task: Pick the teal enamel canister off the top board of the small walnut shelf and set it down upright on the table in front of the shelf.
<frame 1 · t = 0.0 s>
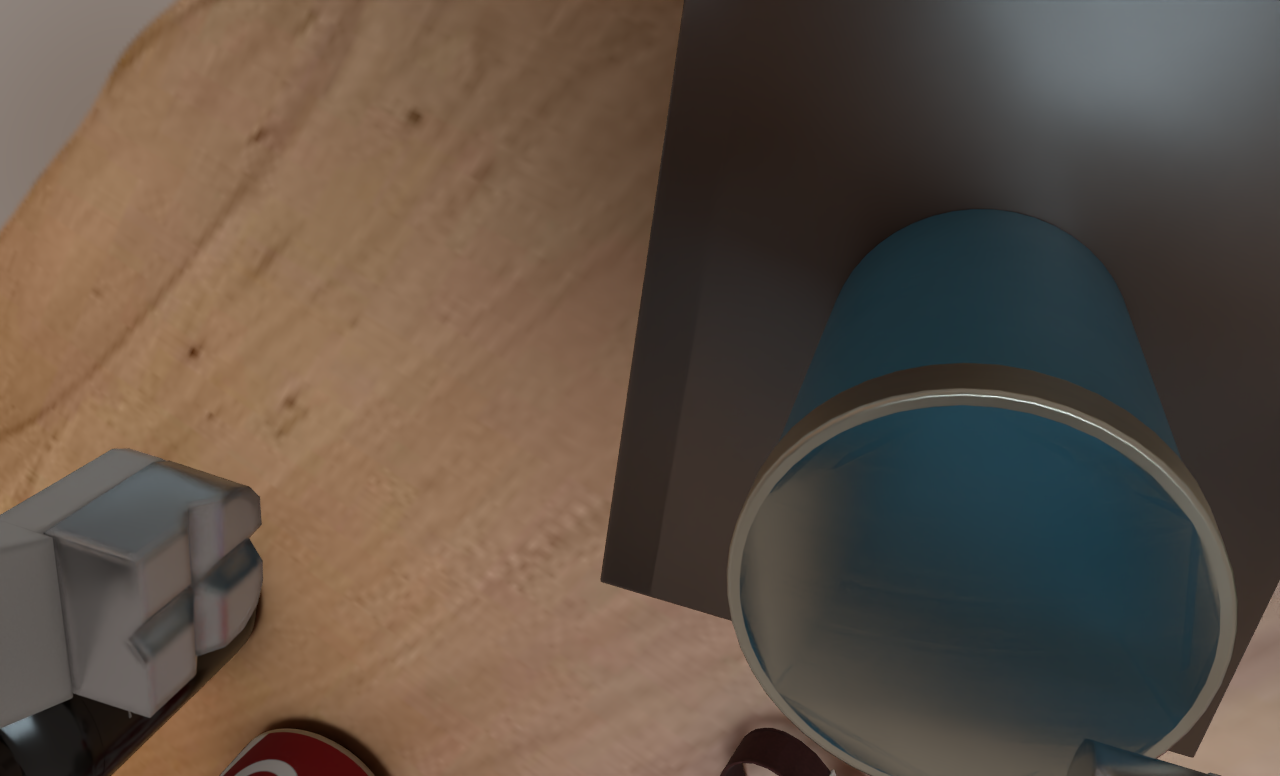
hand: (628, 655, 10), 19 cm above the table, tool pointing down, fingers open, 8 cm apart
enamel canister: (973, 350, 18), point 9 cm above the table, touching walnut shelf
supplement bottle: (187, 574, 40), on the table
walnut shelf: (977, 222, 26), on the table
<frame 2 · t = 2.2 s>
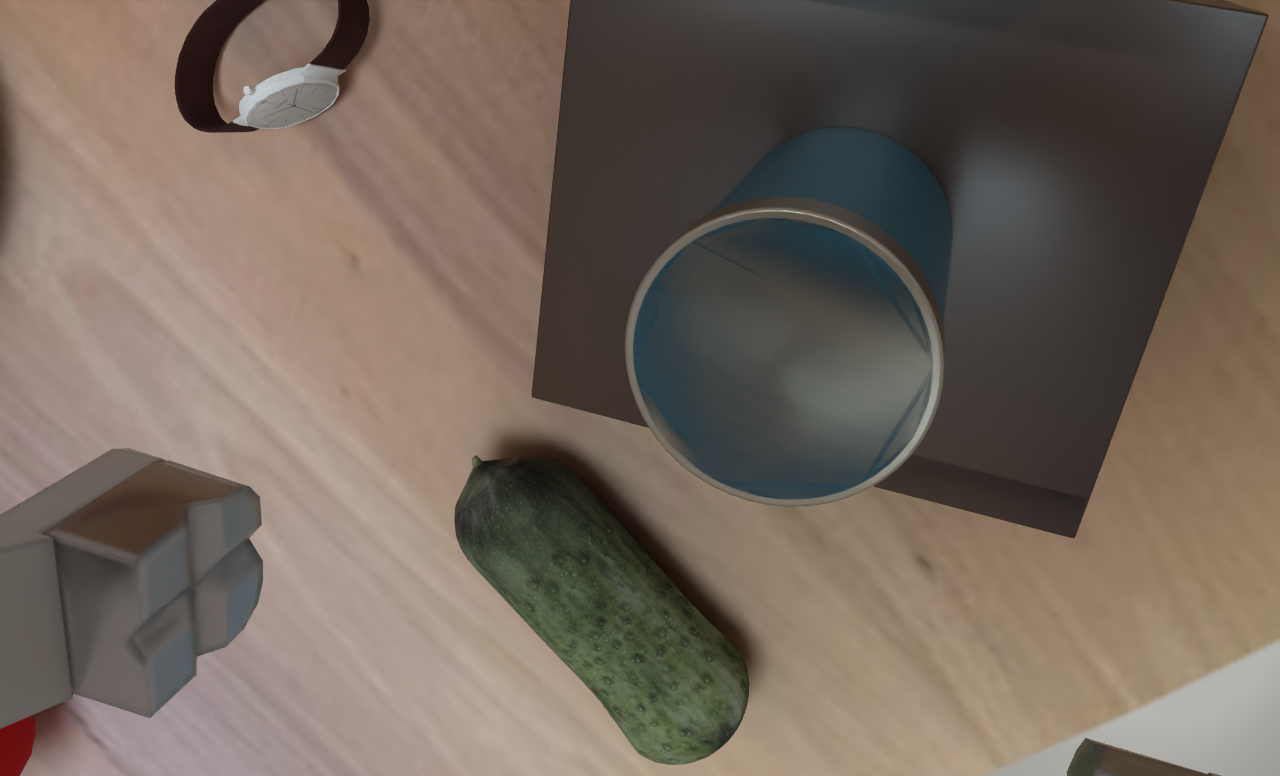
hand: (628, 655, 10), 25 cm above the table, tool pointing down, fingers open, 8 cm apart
vegetable: (620, 564, 41), on the table
enamel canister: (838, 238, 24), point 9 cm above the table, touching walnut shelf
watch: (296, 45, 36), on the table
walnut shelf: (875, 161, 32), on the table
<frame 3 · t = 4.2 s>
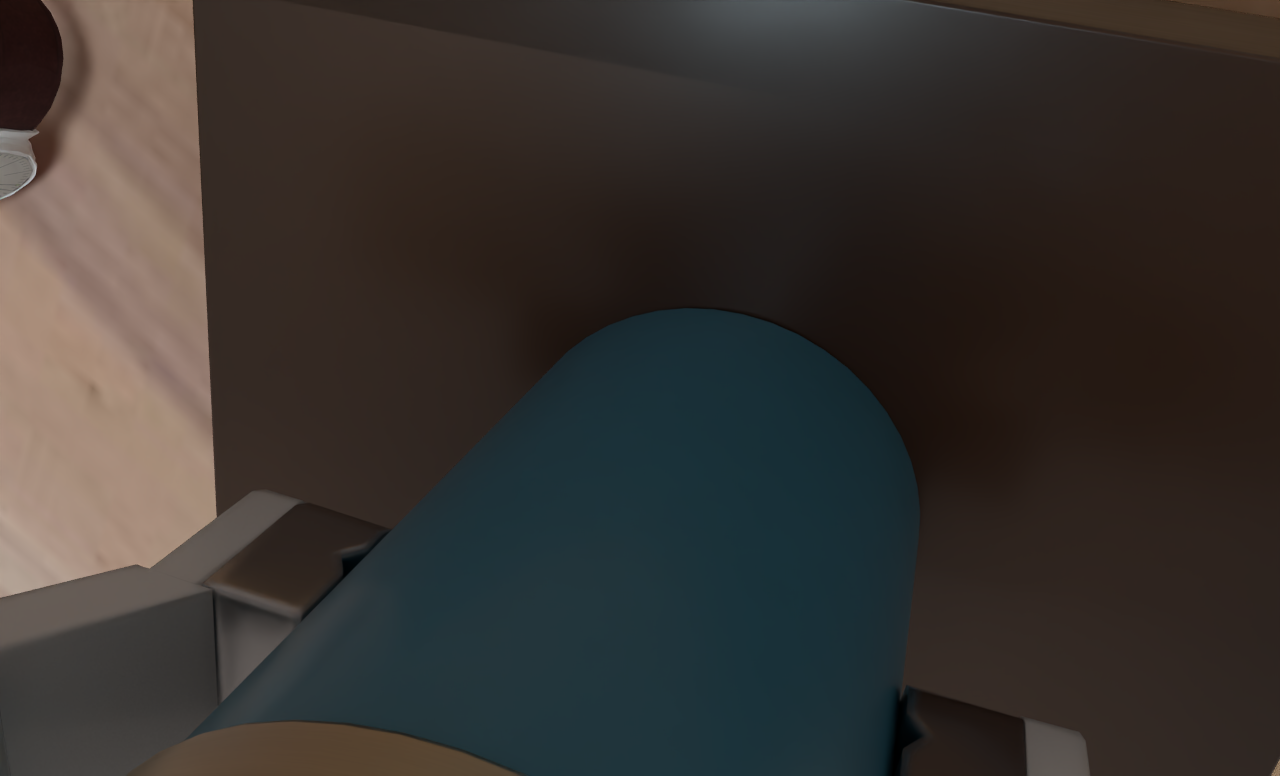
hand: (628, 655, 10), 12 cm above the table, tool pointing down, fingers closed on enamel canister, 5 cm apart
enamel canister: (708, 502, 13), point 9 cm above the table, touching gripper, walnut shelf
walnut shelf: (813, 282, 21), on the table
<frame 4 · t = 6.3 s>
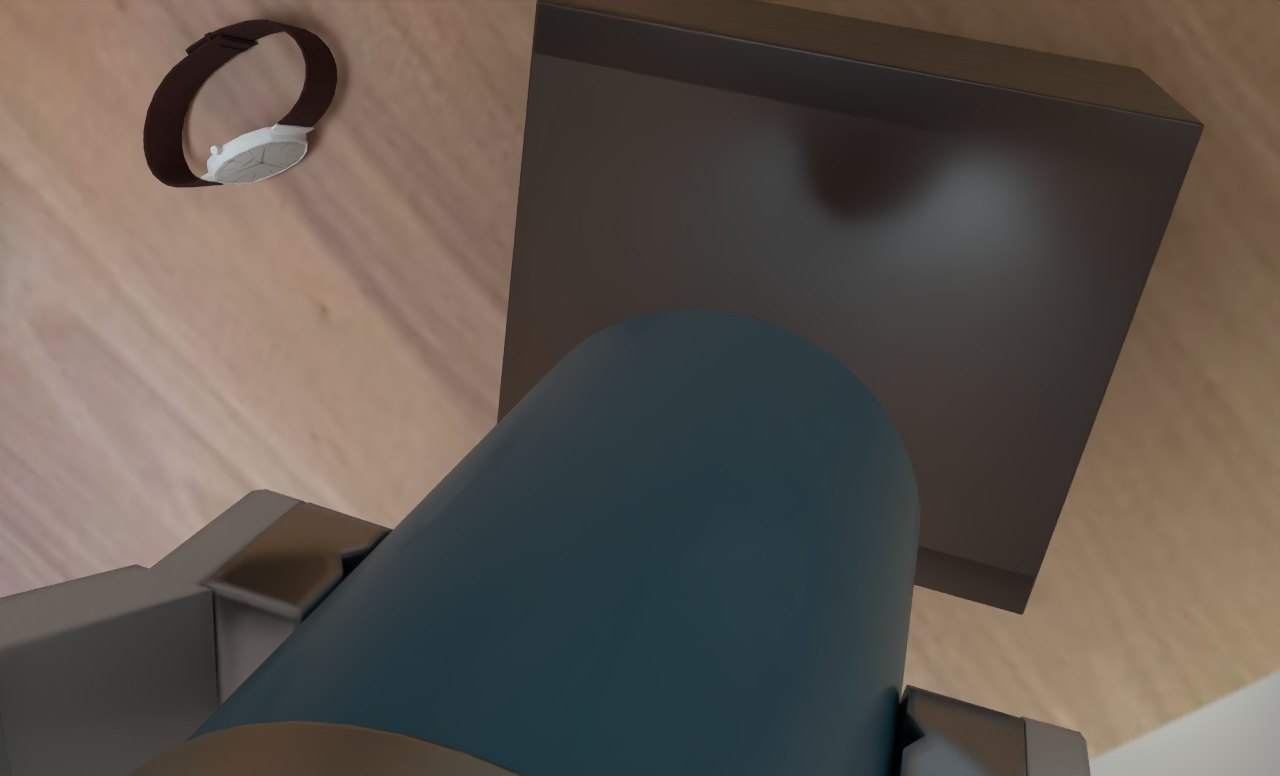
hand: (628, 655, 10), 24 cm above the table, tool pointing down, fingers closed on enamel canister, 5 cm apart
enamel canister: (708, 502, 13), point 21 cm above the table, touching gripper
watch: (265, 100, 37), on the table
walnut shelf: (836, 226, 33), on the table
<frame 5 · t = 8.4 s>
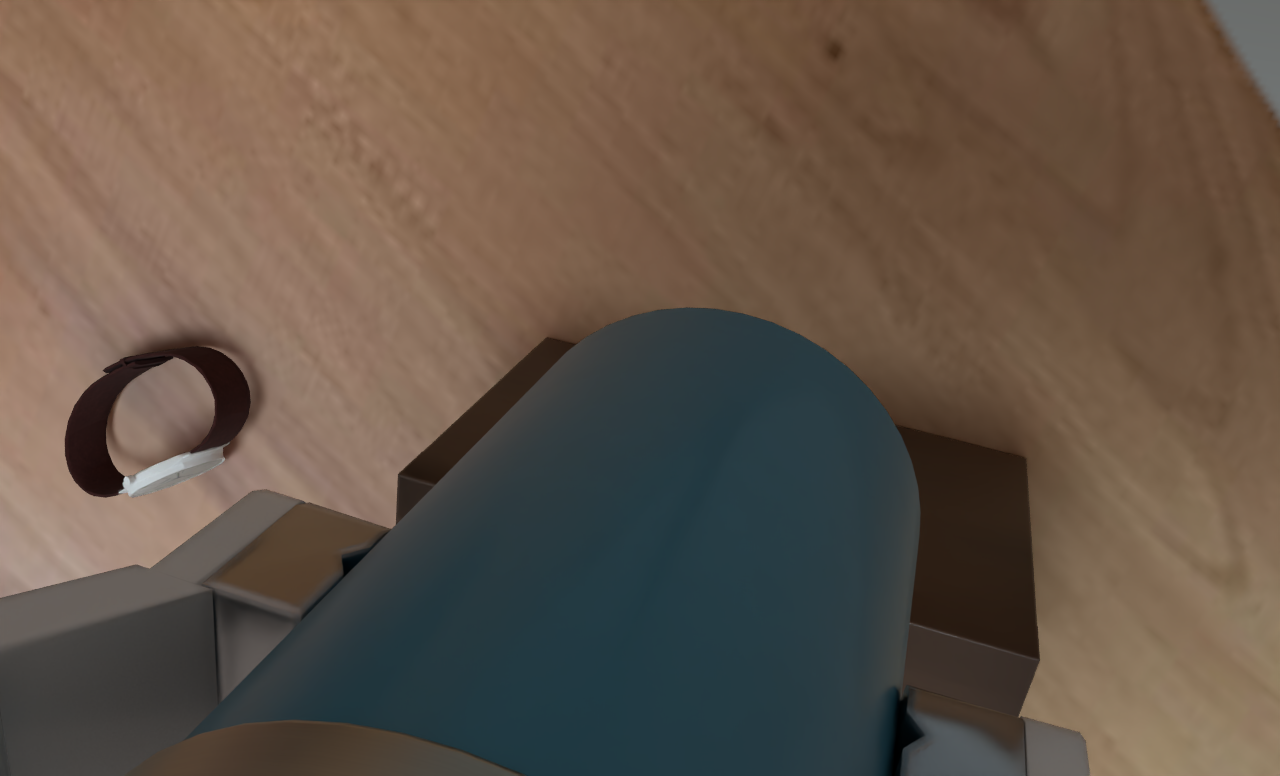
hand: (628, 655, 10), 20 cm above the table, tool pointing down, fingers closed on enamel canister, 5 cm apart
enamel canister: (708, 501, 13), point 16 cm above the table, touching gripper
watch: (185, 404, 37), on the table
walnut shelf: (738, 566, 33), on the table
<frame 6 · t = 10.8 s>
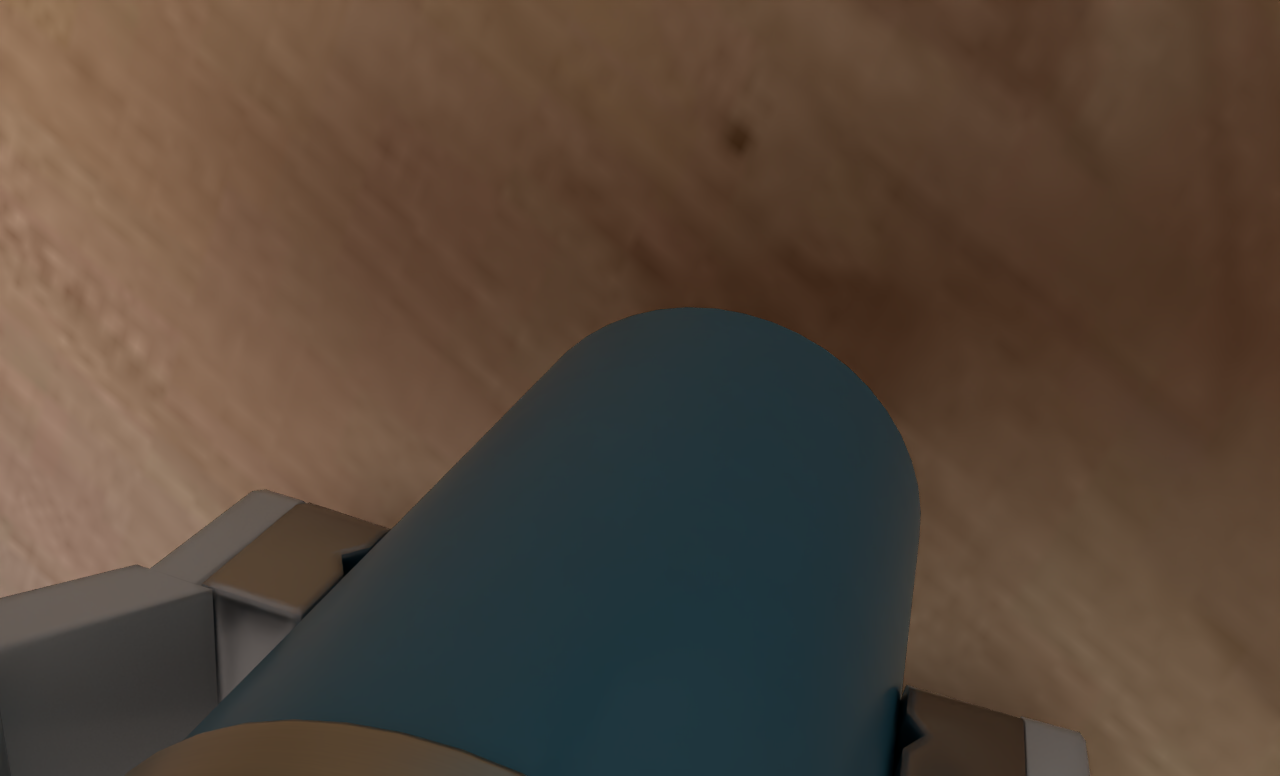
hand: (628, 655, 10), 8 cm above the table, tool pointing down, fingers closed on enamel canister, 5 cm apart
enamel canister: (708, 501, 13), point 5 cm above the table, touching gripper
when the fingers open (3 cm above the table, at t = 12.5 s): enamel canister stays where it is, on the table.
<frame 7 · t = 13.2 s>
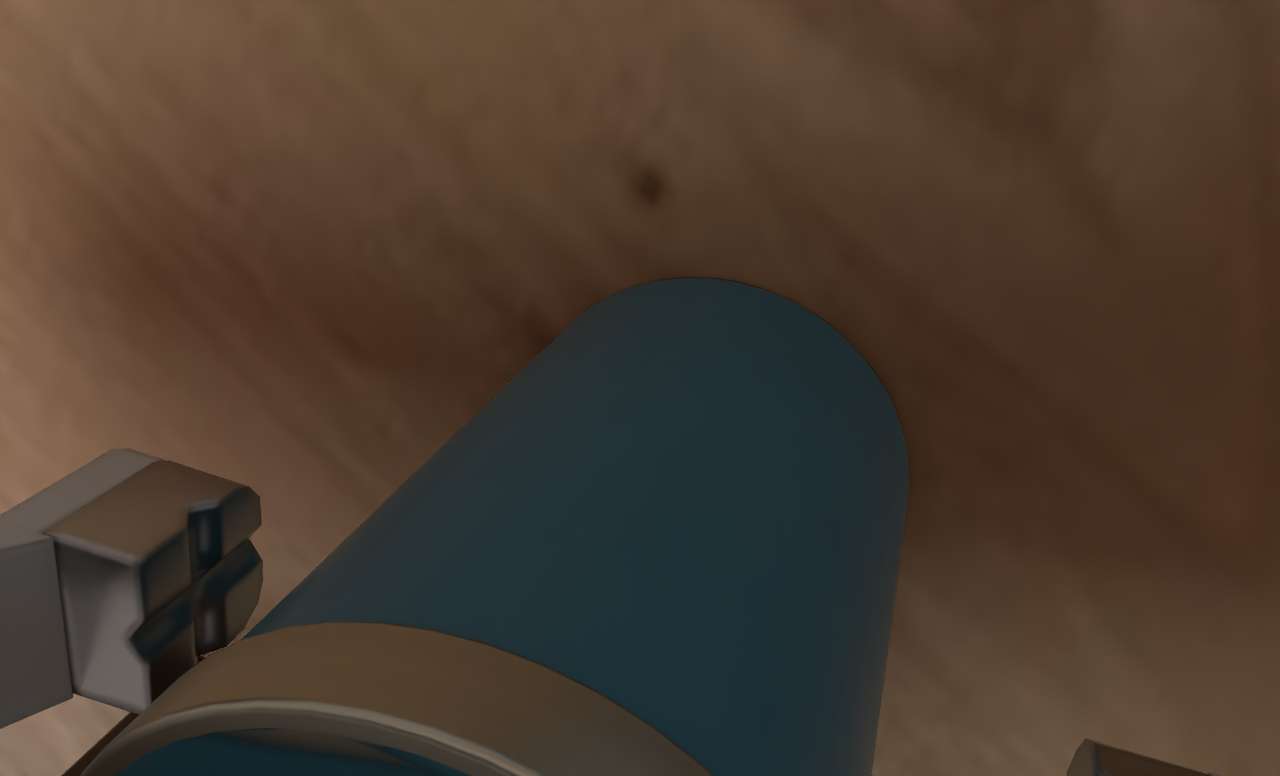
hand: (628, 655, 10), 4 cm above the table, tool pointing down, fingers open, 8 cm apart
enamel canister: (707, 465, 13), on the table
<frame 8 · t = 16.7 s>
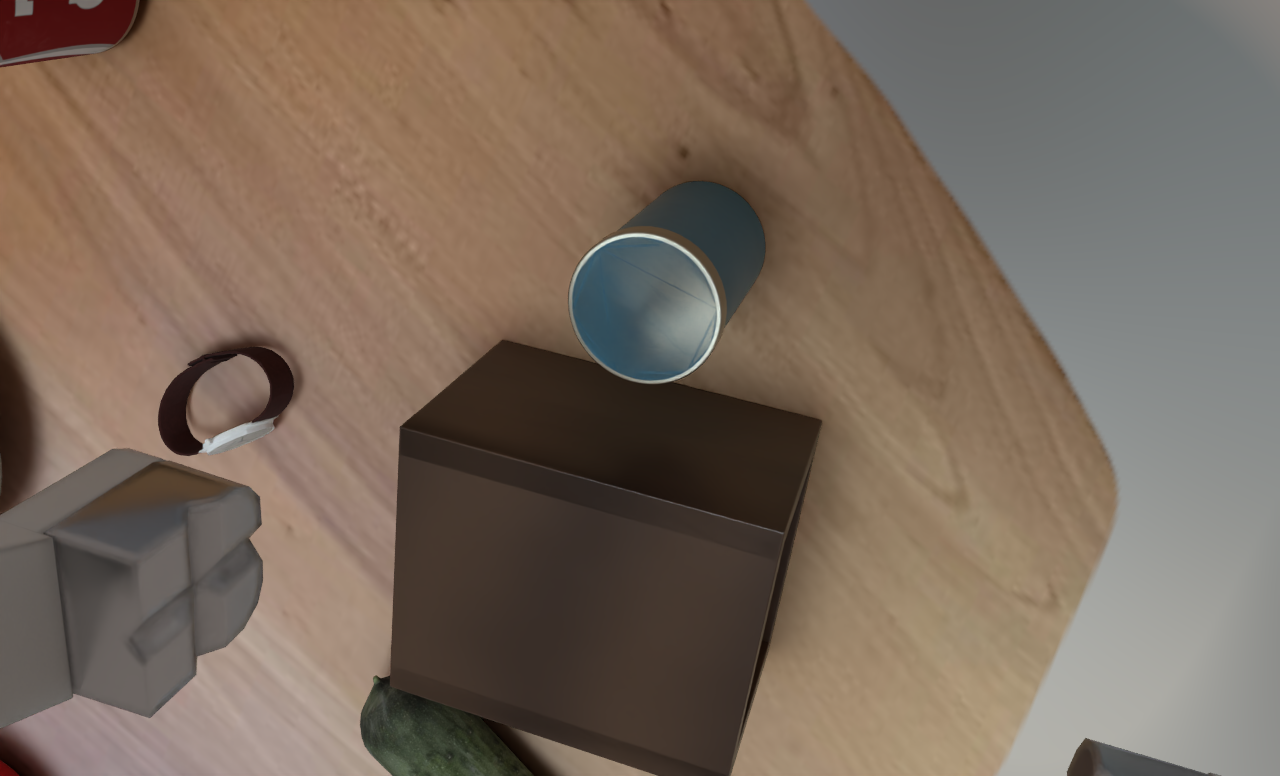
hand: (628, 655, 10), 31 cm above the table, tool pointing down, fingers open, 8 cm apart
vegetable: (488, 742, 55), on the table
enamel canister: (702, 244, 41), on the table
watch: (244, 388, 51), on the table
walnut shelf: (638, 500, 47), on the table
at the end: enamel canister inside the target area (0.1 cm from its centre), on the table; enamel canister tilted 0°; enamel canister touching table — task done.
